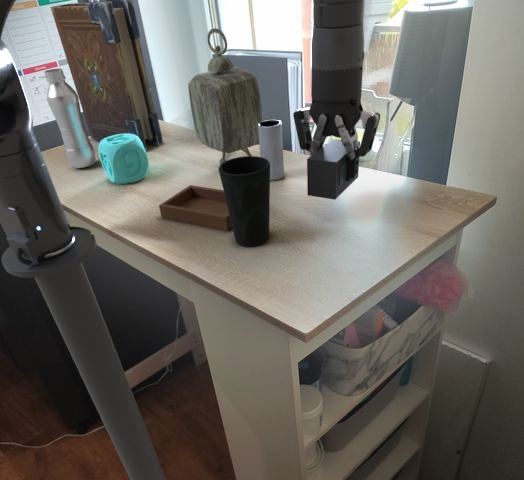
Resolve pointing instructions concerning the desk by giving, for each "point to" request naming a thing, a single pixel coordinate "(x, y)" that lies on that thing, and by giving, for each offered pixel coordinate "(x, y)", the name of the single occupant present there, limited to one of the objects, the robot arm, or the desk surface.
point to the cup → (247, 198)
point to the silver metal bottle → (69, 120)
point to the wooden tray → (198, 208)
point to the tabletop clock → (225, 104)
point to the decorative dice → (123, 158)
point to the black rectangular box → (328, 171)
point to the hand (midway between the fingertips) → (334, 177)
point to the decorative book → (108, 68)
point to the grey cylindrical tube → (272, 146)
